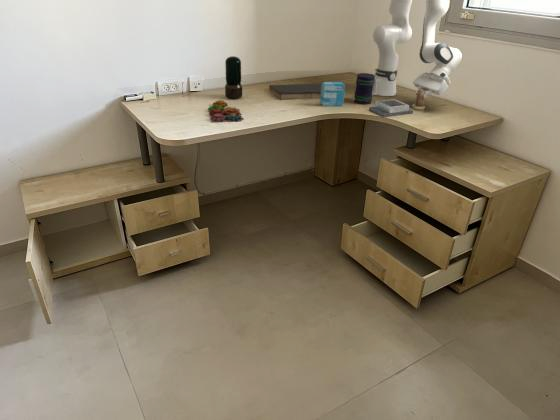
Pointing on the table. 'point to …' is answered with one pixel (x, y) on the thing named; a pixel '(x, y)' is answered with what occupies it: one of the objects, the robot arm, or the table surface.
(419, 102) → the tan upright cylinder
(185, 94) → the table surface
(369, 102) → the storage jar
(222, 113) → the gear puzzle
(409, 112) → the carrier plate
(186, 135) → the table surface
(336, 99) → the data package
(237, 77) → the dark green cactus pot
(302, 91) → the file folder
